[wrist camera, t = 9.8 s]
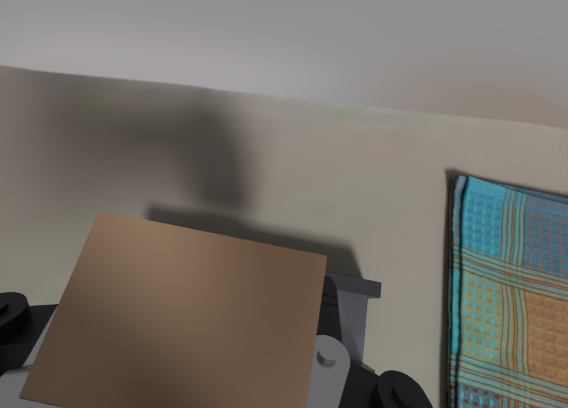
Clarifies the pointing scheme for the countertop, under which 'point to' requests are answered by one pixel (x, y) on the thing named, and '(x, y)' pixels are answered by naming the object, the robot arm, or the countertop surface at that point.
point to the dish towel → (507, 297)
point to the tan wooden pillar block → (180, 322)
